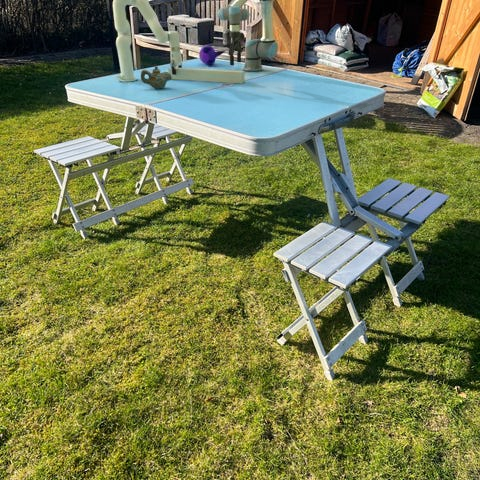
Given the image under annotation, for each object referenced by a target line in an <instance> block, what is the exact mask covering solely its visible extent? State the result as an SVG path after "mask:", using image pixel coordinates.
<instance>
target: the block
mask: <svg viewBox="0 0 480 480" xmlns="http://www.w3.org/2000/svg"><path fill="white" fill-rule="evenodd" d="M175 69H176V75H172V69H171V67H169V68H168V69H167V70H168V71H167V72H168V73H170V74H171V76H172V78H171V79H170V80H178V81H191V82H192V81H193V82H194V81H195V82H210V83H227V84H244V83H245V81H246V80H245V77H246V75H245V74H246V73H245V71H244V70H231V69H215V68H214V69H213V68H196V67H182V68H178V66H176V68H175Z"/></svg>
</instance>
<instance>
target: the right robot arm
mask: <svg viewBox="0 0 480 480" xmlns="http://www.w3.org/2000/svg"><path fill="white" fill-rule="evenodd" d="M248 1H249V0H231V1H230V2H229V4H228V5H227V6H226V7H223V8H219V10H218V12H217V16H218V19H219V20H220V21H229V25H228V26H229V38H230V40H229V47H228V56H229V66H232V67H233V66H235V55H234V54H235V49H236V51H237V53H236V63H242V53H243V46H242V41H241V22H244V21H247V20H248V19H249V18H250V15H251V14H250V11H249V9H248V8H242V7H243V6H244V5H245V4H246V3H247V2H248ZM258 1H259V2H260V4H261V38H255V39H249V40H246V41H245V61H244V65H243V71H244V72H260V71H262V70H263V66H262V64H263V65H266V63H265V62H261V58H268V59H270V58H271V59H273V58H275V57H276V55H277V53H278V50H279V44H278V42H277V41H276V38H275V37H274V2H275V0H258Z"/></svg>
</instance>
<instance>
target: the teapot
mask: <svg viewBox="0 0 480 480" xmlns="http://www.w3.org/2000/svg"><path fill="white" fill-rule="evenodd" d="M146 75H147V76H148V78H146V77H145V76H146ZM171 78H172V76H171V74H170V73H169V71H163V72H161V69H160V68H159V67H158V66H157V65H154V68H153V69H152V72H151V71H149V70H147V69H142V70H141V72H140V80H141V83H143V84H144V85H145V84H146V85H149V86H150V87H151V88H154V89H155V90H162V89H163V88H165V87H166V85H167V82H168V81H170V80H172V79H171Z"/></svg>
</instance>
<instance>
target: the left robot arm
mask: <svg viewBox="0 0 480 480" xmlns="http://www.w3.org/2000/svg"><path fill="white" fill-rule="evenodd" d="M150 4H151V3H150V2H149V0H113V1H112V12H113V20H114V22H113V23H114V28H115V31H116V32H117V37H116V40H115V46H116V50H117V56H118V62H119V67H120V68H119V69H120V74H119V75H115V76H114V78H115V79H117V80H119V81H120V82H123V83H126V82H128V83H130V82H135V81H137V79H138V78H137V77H135V71H134V63H133V55H132V50H131V45H132V33H131V25H130V22H129V20H128V19H127V12H126V6H127V5H128V6H132V7H134V8H137V9H138V11H139V12H140V14H141V15H142V18H143V19H144V20H145V22H146V23H147V25H148V27H149V28H150V30H151V32H152V33H153V36H155V38H156V40H157V41H158V42H159V43H160V44H166V43H167V42H169V52H170V63H169V66H170V68H171V69H172V75H176V69H175V68H176V67H177V68H183V57H182V52H181V45H180V34H179V33H180V32H179V31H178V30H171V31H167V30H164V29H163V27H162V25H161V23H160V21H159V18H158V15H157V14H156V12H155V11H154V9H153V7H152V6H151V5H150Z"/></svg>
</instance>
